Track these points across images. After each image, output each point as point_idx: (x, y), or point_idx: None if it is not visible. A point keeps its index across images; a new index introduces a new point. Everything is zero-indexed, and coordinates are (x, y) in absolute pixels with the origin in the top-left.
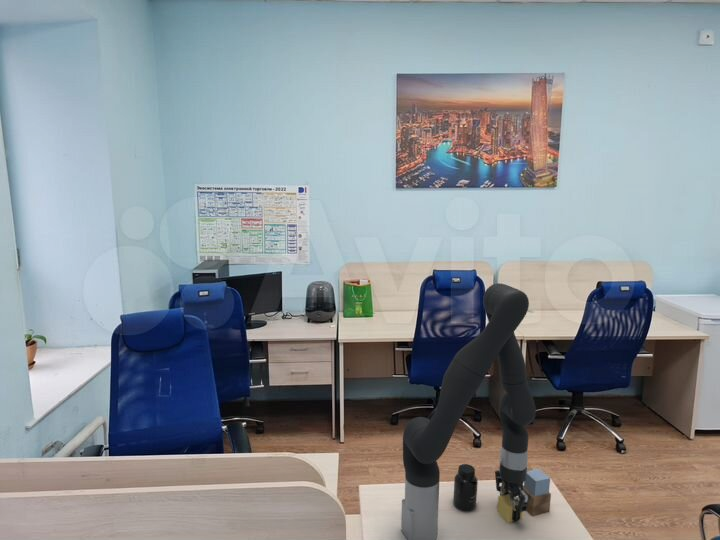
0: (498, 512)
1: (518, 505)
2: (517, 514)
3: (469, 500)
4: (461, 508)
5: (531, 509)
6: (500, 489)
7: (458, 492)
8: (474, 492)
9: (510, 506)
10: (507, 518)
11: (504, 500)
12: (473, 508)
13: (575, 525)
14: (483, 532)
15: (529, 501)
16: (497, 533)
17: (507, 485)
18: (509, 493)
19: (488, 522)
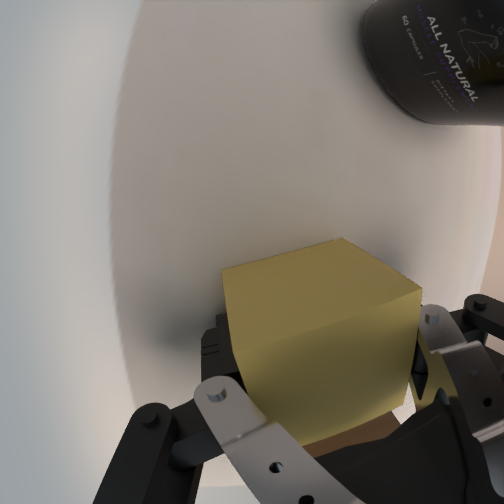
0: (332, 241)
1: (144, 470)
2: (205, 375)
3: (410, 11)
4: (372, 4)
5: None
6: (472, 342)
7: None
8: (478, 42)
9: (245, 372)
10: (226, 282)
11: (356, 335)
12: (379, 73)
13: (199, 485)
14: (135, 59)
15: (315, 452)
16: (111, 156)
17: (456, 491)
18: (336, 491)
19: (237, 123)
